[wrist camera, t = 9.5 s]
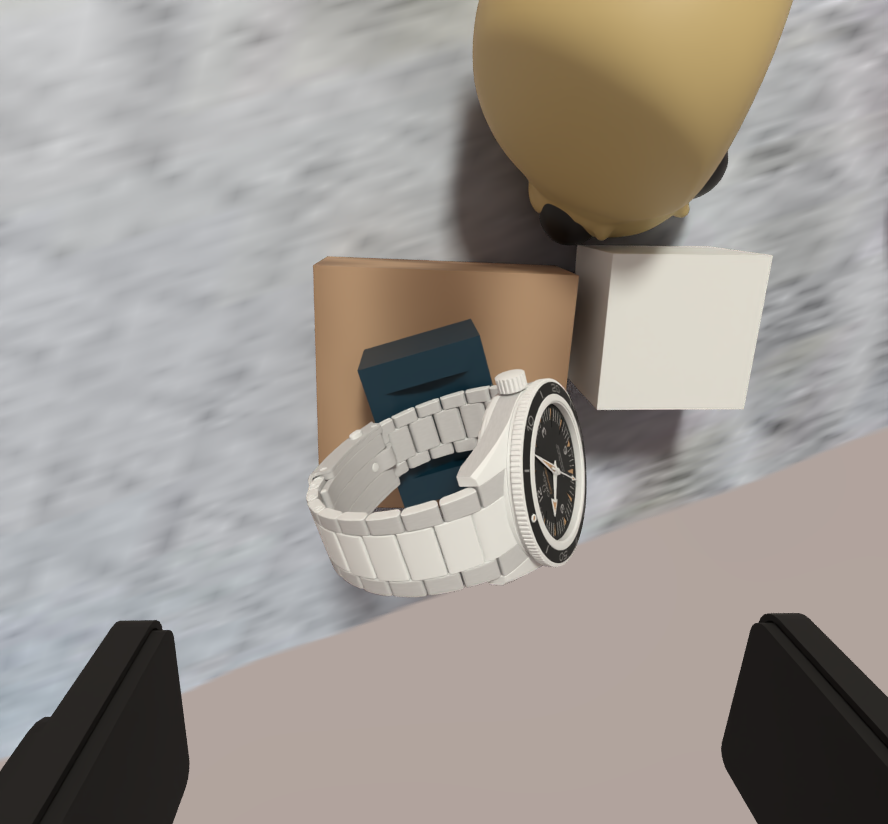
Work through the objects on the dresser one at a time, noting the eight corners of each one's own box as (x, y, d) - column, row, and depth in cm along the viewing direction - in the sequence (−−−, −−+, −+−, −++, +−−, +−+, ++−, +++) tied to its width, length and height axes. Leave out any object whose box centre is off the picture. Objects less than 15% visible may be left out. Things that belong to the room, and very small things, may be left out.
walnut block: (331, 467, 29) (320, 506, 25) (327, 256, 26) (313, 265, 22) (534, 470, 30) (552, 509, 26) (555, 265, 26) (579, 275, 23)
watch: (550, 432, 25) (652, 596, 14) (365, 484, 25) (333, 682, 15) (519, 302, 23) (610, 382, 12) (320, 360, 23) (247, 485, 13)
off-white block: (565, 375, 28) (596, 409, 24) (576, 245, 26) (612, 253, 22) (688, 375, 29) (743, 409, 24) (708, 246, 27) (772, 255, 22)
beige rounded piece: (471, 145, 28) (539, 336, 24) (409, -173, 17) (516, 80, 13) (677, 74, 27) (784, 259, 23) (754, -310, 16) (984, -85, 12)
